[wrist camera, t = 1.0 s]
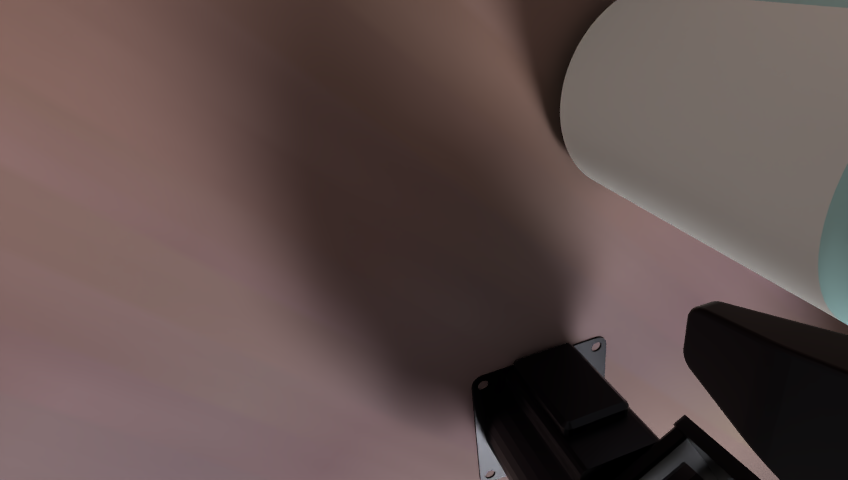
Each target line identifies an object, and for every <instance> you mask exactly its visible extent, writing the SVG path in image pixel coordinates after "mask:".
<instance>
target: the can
mask: <svg viewBox="0 0 848 480" xmlns="http://www.w3.org/2000/svg"><path fill="white" fill-rule="evenodd" d="M560 123H561V131H562V135H563V140H564V143H565V146H566V148H567V150H568V153H569V155H570V157H571V158H572V160H573V162H574V163H575V164H576V166H577V167H578V168H579V169H580V170H581V171H582V172H583V173H584V174H585V175H586V176H588V177H589V178H590V179H592V180H594V181H595V182H597V183H599V184H601V185H602V186H604V187H606V188H608V189H609V190H611V191H613V192H615V193H616V194H618V195H620V196H622V197H623V198H625V199H627V200H629V201H630V202H632V203H634V204H636V205H637V206H639V207H641V208H643V209H645V210H646V211H648V212H650V213H652V214H653V215H655V216H657V217H659V218H660V219H662V220H664V221H666V222H667V223H669V224H671V225H673V226H674V227H676V228H678V229H680V230H681V231H683V232H685V233H687V234H688V235H690V236H692V237H694V238H695V239H697V240H699V241H701V242H703V243H704V244H706V245H708V246H710V247H711V248H713V249H715V250H717V251H718V252H720V253H722V254H724V255H725V256H727V257H729V258H731V259H732V260H734V261H736V262H738V263H739V264H741V265H743V266H745V267H746V268H748V269H750V270H752V271H753V272H755V273H757V274H759V275H761V276H762V277H764V278H766V279H768V280H769V281H771V282H773V283H775V284H776V285H778V286H780V287H782V288H783V289H785V290H787V291H789V292H790V293H792V294H794V295H796V296H797V297H799V298H801V299H803V300H804V301H806V302H808V303H810V304H811V305H813V306H815V307H817V308H819V309H820V310H822V311H824V312H826V313H827V314H829V315H831V316H833V317H834V318H836V319H838V320H840V321H841V322H843V323H845V324H847V325H848V0H616V1H615V2H614V3H613V4H611V5H610V6H609V7H608V8H607V9H606V10H605V11H604V12H603V13H602V14H601V15H600V16H599V17H598V18H597V19H596V20H595V21H594V23H593V24H592V25H591V26H590V28H589V29H588V30H587V32H586V33H585V35H584V36H583V38H582V40H581V41H580V43H579V45H578V46H577V48H576V50H575V52H574V54H573V57H572V59H571V61H570V64H569V66H568V69H567V72H566V76H565V79H564V83H563V88H562V94H561V102H560Z"/></svg>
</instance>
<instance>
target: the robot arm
mask: <svg viewBox="0 0 848 480" xmlns="http://www.w3.org/2000/svg"><path fill="white" fill-rule="evenodd" d="M597 342H600V344H601V345H600V348H599V349H598V350H596V351H592V349H591V348H592V346H593V345H594V344H595V343H597ZM683 353H684V358H685V361H686V363H687V365H688V367H689V368H690V370H691V371H692V372H693V373H694V375H695V376H696V377H697V379H698V380H699V381H700V383H701V384H702V385H703V386H704V388H705V389H706V390H707V392H708V393H709V394H710V396H711V397H712V398H713V399H714V401H715V402H716V403H717V405H718V406H719V407H720V409H721V410H722V411H723V412H724V414H725V415H726V416H727V418H728V419H729V420H730V422H731V423H732V424H733V426H734V427H735V428H736V429H737V431H738V432H739V433H740V435H741V436H742V437H743V438H744V440H745V441H746V442H747V443H748V445H749V446H750V447H751V448H752V450H753V451H754V452H755V453H756V454H757V455H758V456H759V458H760V459H761V460H762V461H763V462H764V463H765V464H766V465H767V467H768V468H769V469H770V470H771V471H772V472H773V473H774V474H775V475H776V476H777V477H778V478H779V480H848V335H845V334H841V333H837V332H833V331H830V330H826V329H822V328H818V327H814V326H811V325H807V324H803V323H799V322H796V321H792V320H788V319H784V318H780V317H777V316H773V315H769V314H765V313H761V312H758V311H754V310H750V309H746V308H743V307H739V306H735V305H731V304H727V303H724V302H719V301H714V302H710V303H707V304H703V305H700V306H697V307H695V308H693V309H692V310H691V311H690V313H689V314H688V319H687V326H686V334H685V341H684V348H683ZM605 357H606V340H605V339H604V338H602V337H596V338H593V339H590V340H587V341H584V342H581V343H578V344H575V345H571V344H569V343H566V344H563V345H560V346H557V347H554V348H551V349H548V350H545V351H542V352H539V353H536V354H533V355H530V356H527V357H524V358H521V359H518V360H516V361H515V363H514V365H512V366H509V367H506V368H503V369H500V370H497V371H494V372H491V373H488V374H485V375H482V376H480V377H478V378H477V379H476V380H475V381H474V382H473V384H472V396H473V407H474V418H475V428H476V439H477V450H478V461H479V471H480V478H481V480H497V479H500V478H502V477H505V476H507V477H508V479H509V480H761V479H759V478H758V477H757V476H756V475H755V474H754V473H752V472H751V471H750V470H749V469H748V468H747V467H745V466H744V465H743V464H742V463H741V462H740V461H738V460H737V459H736V458H735V457H734V456H732V455H731V454H730V453H729V452H728V451H727V450H725V449H724V448H723V447H722V446H721V445H720V444H718V443H717V442H716V441H715V440H714V439H713V438H711V437H710V436H709V435H708V434H707V433H706V432H704V431H703V430H702V429H701V428H700V427H698V426H697V425H696V424H695V423H694V422H693V421H691V420H690V419H689V418H688V417H687V416H686V415H684V416H682V417H681V418H680V419H679V420H678V421H677V422H675V423H674V426H675V427H674V428H673V429H671V430H670V431H669V432H668V433H667V434H666V435H664V436H663V437H662V438H661V439H659V438H658V437H657V436H656V435H655V434H654V433H653V432H652V431H651V430H650V429H649V428H648V427H647V425H646V424H645V423H644V422H643V421H642V420H641V419H640V418H639V417H638V416H637V415H636V414H635V413H634V412H633V411H632V410H631V409H630V408H629V407H628V406H629V404H628V403H627V401H626V400H625V399H624V398H623V397H622V396H621V395H620V394H619V393H618V392H617V391H616V390H615V389H614V388H613V387H612V385H611V384H610V383H609V382H608V381H607V380H606V379H605V378H604V376H605ZM482 381H488V386H487V387H486V388H484V389H481V390H480V389H478V384H479V383H480V382H482ZM492 470H493V471H495V473H494V475H493V476H492V477H490V478H487V477H485V476H486V474H487V472H489V471H492Z"/></svg>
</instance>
